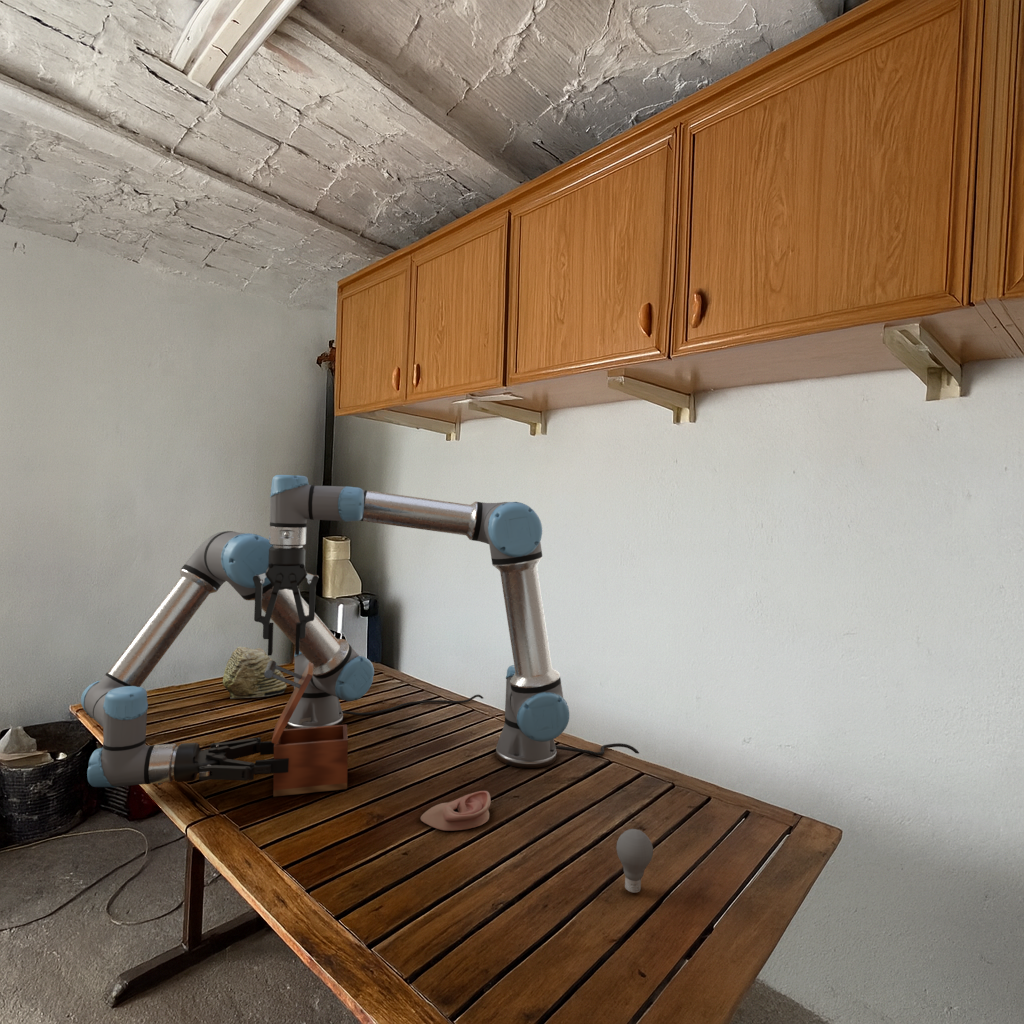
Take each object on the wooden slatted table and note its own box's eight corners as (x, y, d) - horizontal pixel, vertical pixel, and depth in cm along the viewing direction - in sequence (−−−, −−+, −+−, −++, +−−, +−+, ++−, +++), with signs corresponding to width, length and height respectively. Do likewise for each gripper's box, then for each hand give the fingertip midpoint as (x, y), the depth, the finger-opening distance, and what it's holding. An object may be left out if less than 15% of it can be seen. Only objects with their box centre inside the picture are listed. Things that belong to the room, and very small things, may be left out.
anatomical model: (415, 806, 123) (434, 781, 134) (414, 826, 123) (433, 799, 134) (481, 816, 120) (495, 789, 132) (480, 836, 120) (494, 808, 132)
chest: (346, 769, 146) (346, 724, 146) (347, 788, 137) (347, 740, 137) (276, 776, 142) (277, 729, 142) (273, 796, 133) (273, 746, 133)
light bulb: (610, 879, 108) (613, 822, 108) (644, 879, 109) (647, 822, 109) (619, 902, 102) (622, 840, 102) (655, 901, 103) (658, 840, 103)
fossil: (218, 695, 195) (220, 647, 195) (278, 685, 208) (279, 640, 207) (228, 703, 189) (230, 653, 188) (289, 692, 201) (290, 645, 201)
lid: (313, 663, 144) (275, 647, 141) (312, 675, 134) (272, 658, 132) (279, 728, 142) (241, 712, 140) (276, 744, 133) (234, 728, 130)
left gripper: (187, 759, 143) (292, 752, 149) (162, 806, 121) (285, 795, 128) (188, 726, 143) (293, 720, 149) (163, 767, 121) (287, 758, 127)
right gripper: (240, 547, 131) (236, 659, 131) (330, 548, 136) (326, 656, 136) (245, 544, 138) (241, 650, 138) (330, 545, 143) (326, 648, 143)
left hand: (289, 755), depth 138 cm, fingers closed on chest, 10 cm apart
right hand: (283, 653), depth 137 cm, fingers open, 5 cm apart
